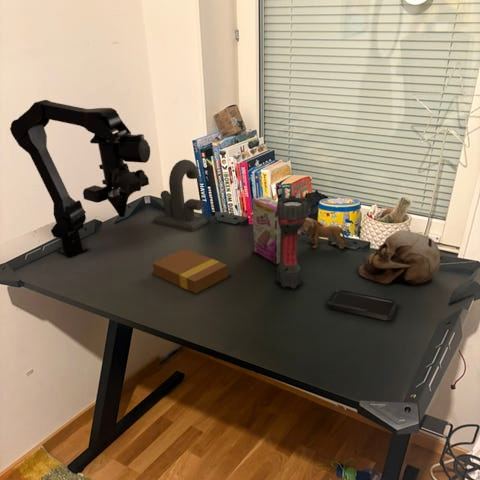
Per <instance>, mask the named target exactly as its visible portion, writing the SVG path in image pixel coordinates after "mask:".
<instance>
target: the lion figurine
mask: <svg viewBox="0 0 480 480" xmlns="http://www.w3.org/2000/svg"><path fill="white" fill-rule="evenodd" d="M300 231H301V232H302V233H303V234H304V235H306V237H307V238H311V239H312V241H311V242H310V245H312V248H313V249H317V248H318V244H319V242H318V241H319V239H320V238H322V239H323V238H324V239H326V238H330V237H331V236H332V237H333V238H334V241H332V242H331V243H330V245H336V244H337V243H338V244H340V245H339V250H344V249H345V245H347V246H349V245H350V243H349V242H347V241H346V235H345V232H344V229H343V228H342V227H341V226H339V225H337V224H332V225H324V224H322V222H320V221H318V220H315V218H311V217H306V219H305V222H304V224H303V225H302V227H301V228H300ZM341 235H342V236H341Z"/></svg>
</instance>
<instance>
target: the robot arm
mask: <svg viewBox="0 0 480 480" xmlns="http://www.w3.org/2000/svg"><path fill="white" fill-rule="evenodd" d="M50 121H55V122H60V123H65V124H70V125H75V126H78V127H81V128H84V129H85V130H86V131H87V132H89V133H91V134H94V135H93V137H92V138H91V139H90V140H89V144H95V145H96V144H97V145H98V151H99V156H100V161H101V164H98V167H99V169H100V170H102V171H103V178H104V179H101V182H102V185H104V186H100V185H94V184H93V185H92V186H89V187H85V188H84V189H83V191H82V195H83V199H84V200H86V201H89V202H92V203H101V202H104V201H108V202H109V203H110V205H111V206H112V207H113V209H114V210H115V211H116V213H117V214H118V216H119V217H120V218H124V217H126V210H127V206H128V200H129V199H130V197H131V195H133V194H134V193H137V192H140V191H142V188H143V187H146V186H149V185H150V181H149V177H148V175H147V174H146V173H145V170H143V169H141V168H140V169H138V170H135V171H130V169H129V165H128V163H143V164H146V163H148V162H149V160H150V157H151V147H150V145H149V143H148V141H147V139H145V135H144V134H143V133H138V134H132V132H131V131H130V129H129V128H128V126H126V124H125V123H124V121H123V120H122V119H121V117H120V114H119V113H118V112H117V110H116V109H114V108H112V107H97V108H85V107H84V108H83V107H79V106H74V105H70V104H64V103H60V102H59V103H58V102H55V101H54V102H53V101H51V100H48V99H43V100H42V99H41V100H39V101H35V102H33V104H32V105H31V106H30V107H29V109H27V110H26V111H25V112H24V113H22V114H21V115H19V117H18V118H17V119H14V120H12V121H11V124H10V127H9V130H10V133H11V135H12V137H13V138H14V140H15V141H16V143H17V144H18V146H19V147H20V148H22V150H24V151H25V152H26V153H27V154H29V156H30V159H31V160H32V162H33V164H34V166H35V168H36V170H37V172H38V174H39V176H40V178H41V181H42V182H43V185H44V187H45V188H46V191H47V192H48V194H49V197H50V198H51V201H52V203H53V218H54V220H55V222H56V223H54V225H53V227H52V228H51V229H50V232H51V234H52V236H53V238H57V239H59V240H60V243H61V247H62V248H61V249H58V252H59V253H60V254H62V255H64V256H66V257H68V258H72V257H74V256H76V255H79V254H82V253H85V252H88V250H89V249H88V248H87V247H85V246H83V244H82V240H81V235H80V230H82V229H84V224H85V222H86V220H87V216H86V213H87V211H86V210H85V209H84V206H83V205H82V202H81V200H79V199H78V200H74V198H72V197H71V196H70V194H69V192H68V190H67V188H66V185H65V184H64V182H63V179H62V177H61V175H60V173H59V171H58V169H57V166H56V164H55V162H54V160H53V158H52V156H51V154H50V152H49V150H48V147H47V146H48V144H47V142H48V141H47V139H48V136H47V133H46V129H45V128H46V126H47V125H48V124H50V123H49V122H50Z"/></svg>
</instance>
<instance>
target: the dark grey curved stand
mask: <svg viewBox="0 0 480 480" xmlns="http://www.w3.org/2000/svg"><path fill="white" fill-rule="evenodd" d="M185 176H186V178H187V179H189V180H196V179H199V178H200V172H199V168H198V166H197V165H196V164H195V163H194V162H193V161H192V160H191V159H181V160H179V161H177V162H176V163H175V164H174V165H173V166H172V168H171V170H170V174H169V176H168V177H169V178H168V187H169V191H168V190H163V191H161V192H160V198H161V200H162V202H163V210H164V212H163V213H161V214H159V215H157V216H154V218H152V223H153V224H158V225H163V226H167V227H172V228H175V229H181V230H184V231H190V232H194V231H196V230H197V229H198V230H199V228H201V227H203V226H205V225H207V224H208V219H207V218H204V217H200V216H196V215H195V211H201V210H202V209H203V207H204V203H203V201H202V200H201V199H195V198H190V199H187V200H185V193H184V185H183V181H184V177H185Z"/></svg>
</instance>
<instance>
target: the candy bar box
mask: <svg viewBox="0 0 480 480" xmlns="http://www.w3.org/2000/svg"><path fill="white" fill-rule="evenodd" d="M251 202H252V203H251V204H252V205H251V207H252V208H251V209H252V234H253V235H252V240H253V242H252V243H253V253H255V254H257V255H259V256H260V257H262V258H264V259H266V260H267V261H269V262H271V263H273V264H275V265H279V264H280V236H281V229H280V227H279V224H278V216H277V202H278V200H275V198H272V197H269V196H267V195H263V196H259V197H255V198H252V199H251Z"/></svg>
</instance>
